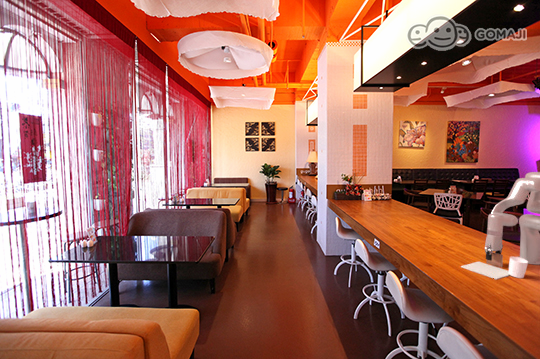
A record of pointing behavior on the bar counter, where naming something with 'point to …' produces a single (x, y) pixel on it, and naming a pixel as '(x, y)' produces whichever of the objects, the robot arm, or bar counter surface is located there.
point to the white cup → (517, 267)
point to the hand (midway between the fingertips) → (493, 258)
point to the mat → (487, 270)
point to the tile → (496, 260)
